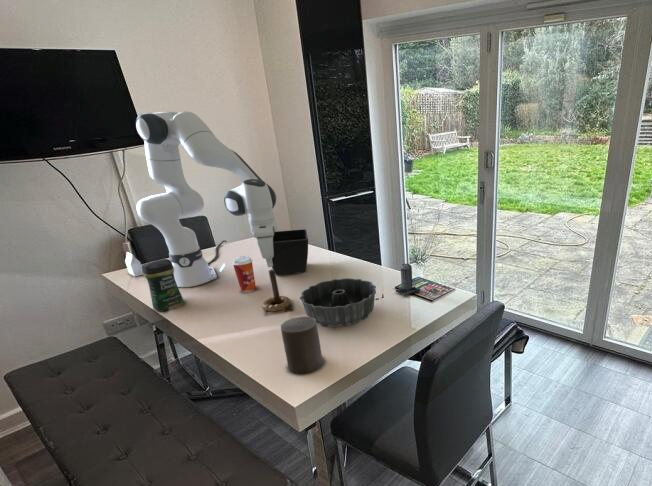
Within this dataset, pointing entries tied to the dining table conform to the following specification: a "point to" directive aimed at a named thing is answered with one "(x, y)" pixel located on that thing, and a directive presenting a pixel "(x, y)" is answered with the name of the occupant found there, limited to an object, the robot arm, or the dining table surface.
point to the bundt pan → (339, 301)
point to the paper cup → (244, 272)
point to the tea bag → (133, 265)
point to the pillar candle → (302, 344)
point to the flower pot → (290, 251)
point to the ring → (278, 307)
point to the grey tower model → (406, 281)
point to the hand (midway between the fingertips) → (270, 262)
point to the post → (276, 290)
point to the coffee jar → (162, 284)
